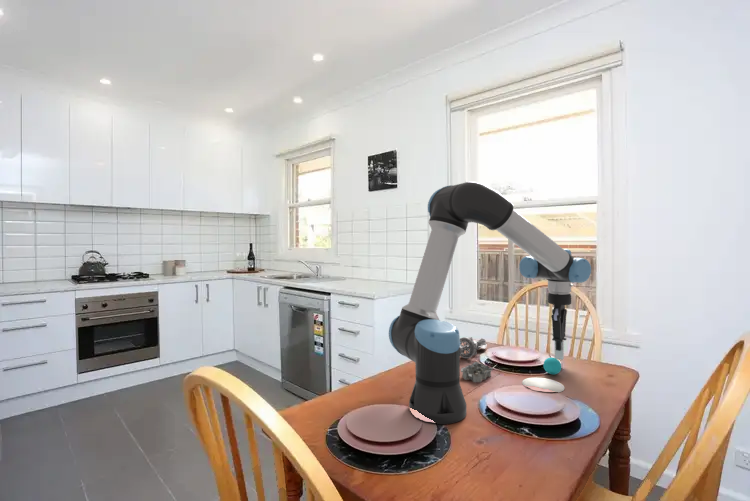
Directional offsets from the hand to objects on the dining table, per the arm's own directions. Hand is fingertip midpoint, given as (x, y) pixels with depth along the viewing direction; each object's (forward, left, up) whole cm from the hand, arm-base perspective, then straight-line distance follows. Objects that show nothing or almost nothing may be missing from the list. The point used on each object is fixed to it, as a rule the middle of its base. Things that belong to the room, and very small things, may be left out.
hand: (559, 358), depth 137 cm
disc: (-22, 0, -3) cm, 22 cm away
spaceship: (-11, +31, -3) cm, 33 cm away
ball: (-10, 0, 0) cm, 10 cm away
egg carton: (-27, +20, -3) cm, 33 cm away
